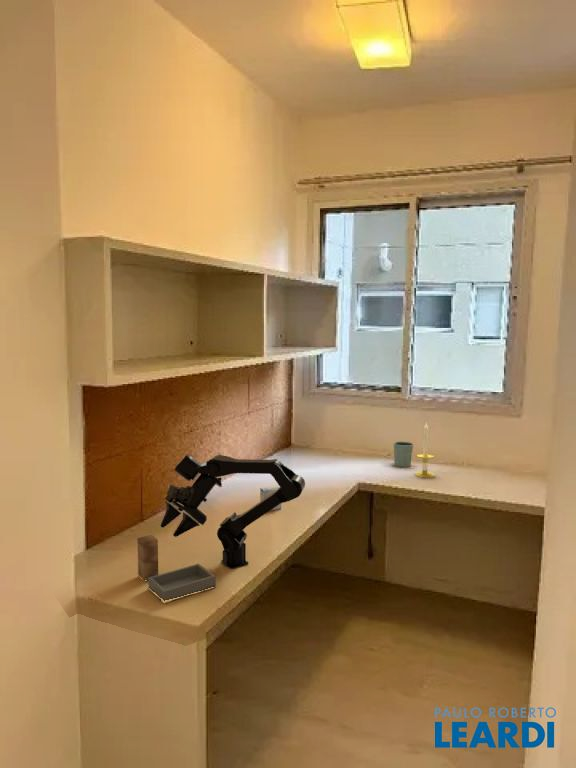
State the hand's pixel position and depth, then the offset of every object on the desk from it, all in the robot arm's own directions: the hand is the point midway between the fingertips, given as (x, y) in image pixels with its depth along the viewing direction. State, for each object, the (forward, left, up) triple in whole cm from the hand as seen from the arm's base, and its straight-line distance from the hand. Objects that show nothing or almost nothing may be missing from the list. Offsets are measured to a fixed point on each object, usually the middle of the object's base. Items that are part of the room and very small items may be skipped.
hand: (167, 531), depth 172 cm
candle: (-150, -26, -13) cm, 153 cm away
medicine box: (-58, -29, -13) cm, 66 cm away
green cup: (-155, -45, -13) cm, 162 cm away
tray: (+2, +13, -13) cm, 18 cm away
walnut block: (+7, 0, -13) cm, 14 cm away
